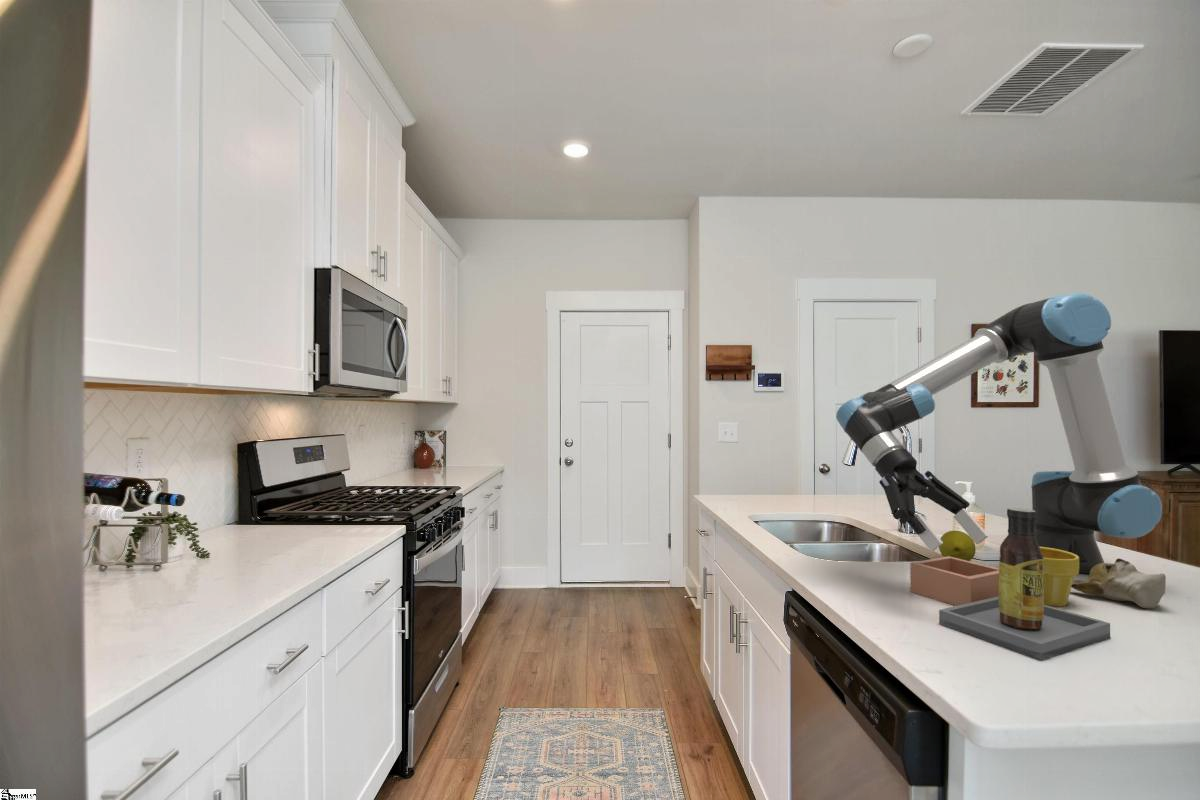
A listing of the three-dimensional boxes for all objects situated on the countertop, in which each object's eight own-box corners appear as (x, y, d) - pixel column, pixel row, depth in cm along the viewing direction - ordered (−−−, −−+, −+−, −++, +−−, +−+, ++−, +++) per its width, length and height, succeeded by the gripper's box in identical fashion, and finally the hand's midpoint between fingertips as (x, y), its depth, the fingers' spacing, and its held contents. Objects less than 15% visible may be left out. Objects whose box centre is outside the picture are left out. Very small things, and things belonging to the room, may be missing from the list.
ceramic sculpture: (1147, 568, 104) (1057, 553, 118) (1151, 616, 104) (1060, 595, 118) (1180, 563, 108) (1090, 549, 122) (1184, 609, 107) (1093, 590, 121)
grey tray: (1007, 607, 108) (1007, 594, 108) (1110, 638, 94) (1110, 623, 94) (939, 623, 100) (939, 609, 100) (1040, 660, 85) (1040, 644, 85)
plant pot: (1093, 612, 106) (1092, 560, 106) (1030, 608, 108) (1030, 557, 108) (1059, 594, 116) (1059, 546, 116) (1003, 591, 118) (1003, 544, 118)
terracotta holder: (948, 583, 123) (948, 556, 123) (1010, 601, 112) (1009, 571, 112) (910, 591, 118) (910, 562, 118) (970, 610, 107) (970, 578, 107)
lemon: (943, 556, 146) (943, 525, 146) (979, 562, 141) (979, 529, 141) (933, 564, 138) (933, 532, 138) (970, 571, 133) (970, 537, 133)
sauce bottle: (1029, 634, 93) (1028, 513, 93) (990, 621, 99) (989, 507, 99) (1053, 628, 95) (1051, 511, 96) (1013, 615, 101) (1012, 505, 101)
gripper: (917, 466, 128) (986, 547, 114) (837, 472, 118) (903, 561, 104) (939, 445, 123) (1014, 526, 110) (858, 448, 113) (930, 538, 99)
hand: (960, 543), depth 107 cm, fingers open, 13 cm apart
